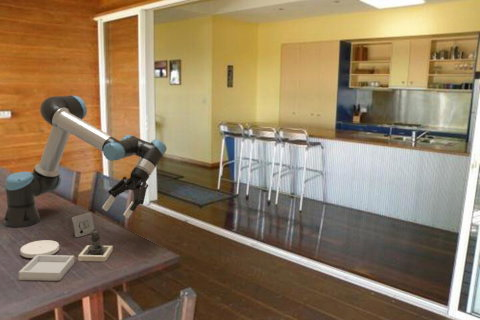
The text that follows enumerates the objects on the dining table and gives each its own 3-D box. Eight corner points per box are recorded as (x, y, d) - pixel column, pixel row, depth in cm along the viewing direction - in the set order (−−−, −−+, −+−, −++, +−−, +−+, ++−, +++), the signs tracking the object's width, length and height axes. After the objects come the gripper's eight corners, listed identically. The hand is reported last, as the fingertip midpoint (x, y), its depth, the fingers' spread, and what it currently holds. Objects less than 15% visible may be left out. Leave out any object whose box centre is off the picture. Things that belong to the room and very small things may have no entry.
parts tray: (37, 262, 157) (37, 254, 156) (74, 262, 157) (74, 255, 157) (19, 279, 143) (18, 272, 143) (59, 280, 144) (59, 272, 143)
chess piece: (90, 252, 167) (89, 224, 165) (105, 252, 168) (104, 224, 165) (86, 258, 161) (85, 230, 159) (101, 258, 162) (100, 230, 159)
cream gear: (22, 248, 169) (22, 242, 169) (59, 244, 175) (59, 238, 174) (18, 262, 157) (18, 256, 156) (58, 257, 162) (58, 251, 161)
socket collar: (87, 249, 169) (87, 245, 169) (112, 250, 170) (112, 245, 169) (78, 260, 159) (78, 256, 159) (105, 261, 160) (105, 256, 159)
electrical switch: (76, 238, 181) (74, 217, 179) (70, 236, 184) (68, 216, 182) (95, 232, 188) (93, 213, 186) (89, 230, 191) (87, 211, 190)
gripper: (167, 181, 173) (140, 224, 164) (128, 171, 187) (101, 211, 178) (158, 171, 168) (129, 215, 159) (118, 162, 182) (90, 202, 173)
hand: (114, 213), depth 168 cm, fingers open, 13 cm apart
